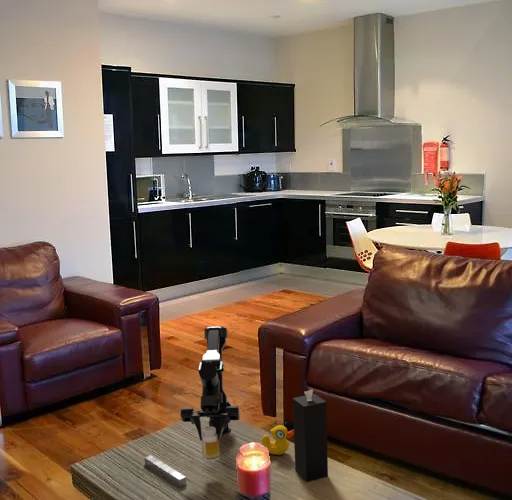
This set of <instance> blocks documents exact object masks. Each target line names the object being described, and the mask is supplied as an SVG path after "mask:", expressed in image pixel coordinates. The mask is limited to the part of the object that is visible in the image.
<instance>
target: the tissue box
mask: <svg viewBox="0 0 512 500" xmlns="http://www.w3.org/2000/svg"><path fill="white" fill-rule="evenodd" d="M313 392H314V389H309V390H307V391H304V395H302V396H298V397H292V409H293V410H292V411H293V414H292V415H293V429H294V435H293V440H294V441H293V442H294V445H293V446H294V467H295V468H294V470H295V473H296V474H297V475H299V477H301V478H302V479H303V480H304V482H312V481H317V480H318V479H323V478H327V477H329V468H328V467H329V465H328V463H329V461H328V457H329V456H328V429H327V427H328V425H327V407H328V405H327V401H326V400H325V399H323V398H321V396H319V395H317V394H316V393H313Z"/></svg>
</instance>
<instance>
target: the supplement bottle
mask: <svg viewBox="0 0 512 500" xmlns="http://www.w3.org/2000/svg"><path fill="white" fill-rule="evenodd" d="M202 431H203V434H202V441H201V451H202V459H203V460H204V461H206V462H213V461H217V460H219V458H220V455H221V454H220V440H218V435H217V434H216V428H215V427H212V426H209V425H208V426H206V427H204V428H203V430H202Z"/></svg>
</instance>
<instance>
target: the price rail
mask: <svg viewBox="0 0 512 500" xmlns="http://www.w3.org/2000/svg"><path fill="white" fill-rule="evenodd" d="M143 459H144V465H145V466H146V467H147V468H150V470H153V471H154V472H156V473H157V474H158V475H160V476H162V477H163V478H165V479H166V480H168V481H170V482H171V483H172V484H174V485H175V486H177V487H179V488H182V487H184V486H187V477H186V476H185V475H184V474H182V473H180V472H179V471H178V470H176V469H174V468H172V467H171V466H169V465H168V464H166V463H164V462H163V461H161V460H159V458H156V457H155V456H153V455H152V454H149V455H147V456H144V457H143Z"/></svg>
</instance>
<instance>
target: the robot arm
mask: <svg viewBox="0 0 512 500" xmlns="http://www.w3.org/2000/svg"><path fill="white" fill-rule="evenodd" d="M228 337H229V336H228V328H227V327H225V325H221V326H220V325H219V326H218V325H217V326H214V325H213V326H208V327H206V328H204V339H205V340H206V344H207V345H206V353H204V354H203V355H202V356H201V358H202V359H201V361H199V366H198V375H199V379H200V382H201V387H202V390H201V391H202V392H201V395H200V407H199V408H200V410H195V409H194V407H182V408H180V415H179V416H180V418H181V422H184V423H188V422H189V423H191V424H192V425H195V427H196V430H197V433H198V438H199V440H200V441H201V442H202V436H203V434H202V422H201V418H208V419H209V420H208V427H209V426H212V427H215V428H216V434H217V435H218V440H219V441H220V439H221V437H222V435H224V434H226V433H228V432H231V431H232V428H230V427H229V423H231V421H239V420H240V417H241V416H240V408H239V406H238V405H232V404H231V403H230V400H228V395H227V393H226V392H225V391H224V377H223V374H224V373H223V372H224V371H225V364H224V360H223V349H224V347H225V346H226V344H227V339H228Z"/></svg>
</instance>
